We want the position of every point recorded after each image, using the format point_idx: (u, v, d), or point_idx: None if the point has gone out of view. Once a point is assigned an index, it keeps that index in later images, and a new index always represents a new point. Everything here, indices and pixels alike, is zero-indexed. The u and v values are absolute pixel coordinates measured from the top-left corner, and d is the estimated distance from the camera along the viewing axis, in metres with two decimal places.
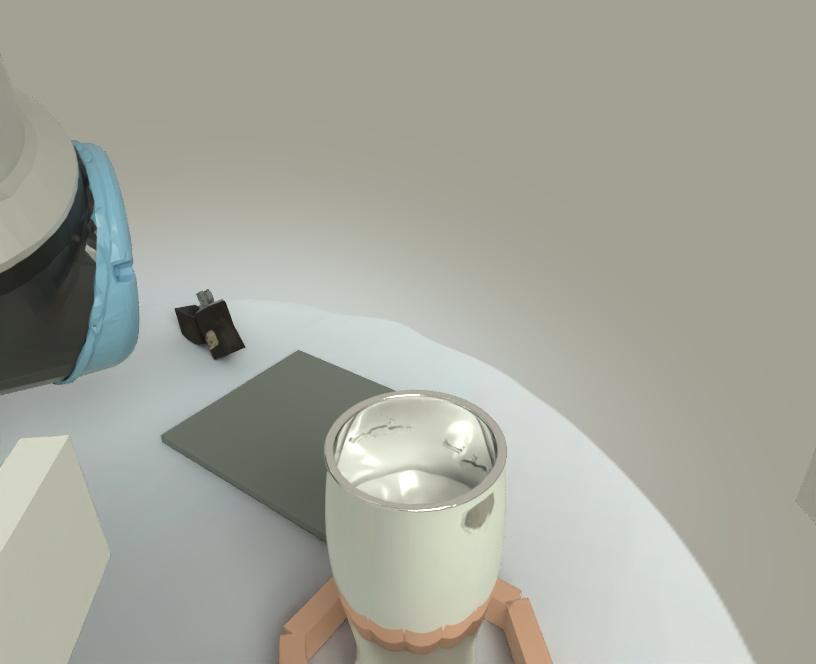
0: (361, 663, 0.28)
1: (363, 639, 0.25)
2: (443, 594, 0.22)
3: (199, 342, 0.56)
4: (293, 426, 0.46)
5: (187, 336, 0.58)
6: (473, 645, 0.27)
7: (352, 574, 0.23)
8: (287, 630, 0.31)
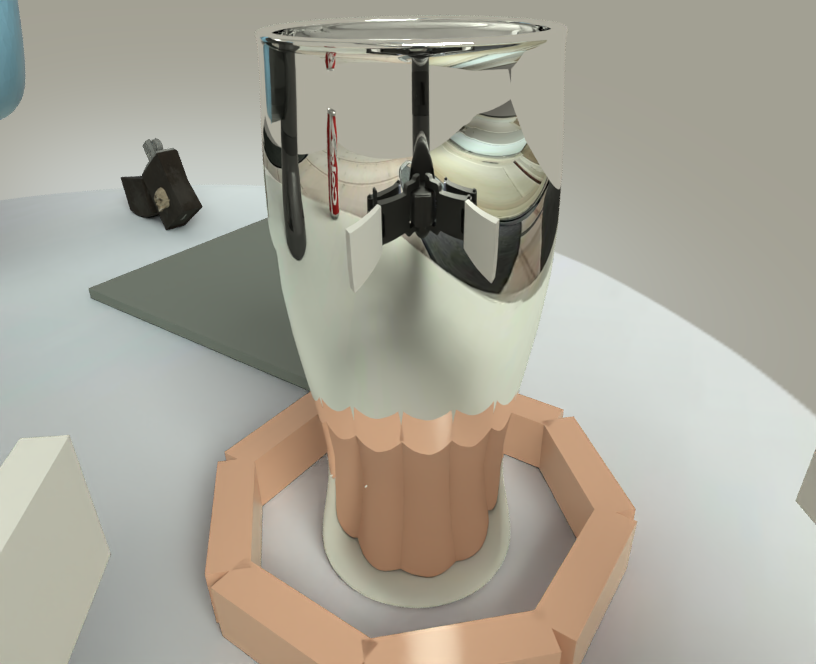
0: (334, 472, 0.18)
1: (332, 398, 0.16)
2: (465, 259, 0.13)
3: (149, 212, 0.47)
4: (257, 277, 0.37)
5: (136, 210, 0.48)
6: (505, 431, 0.17)
7: (306, 240, 0.13)
8: (230, 456, 0.21)
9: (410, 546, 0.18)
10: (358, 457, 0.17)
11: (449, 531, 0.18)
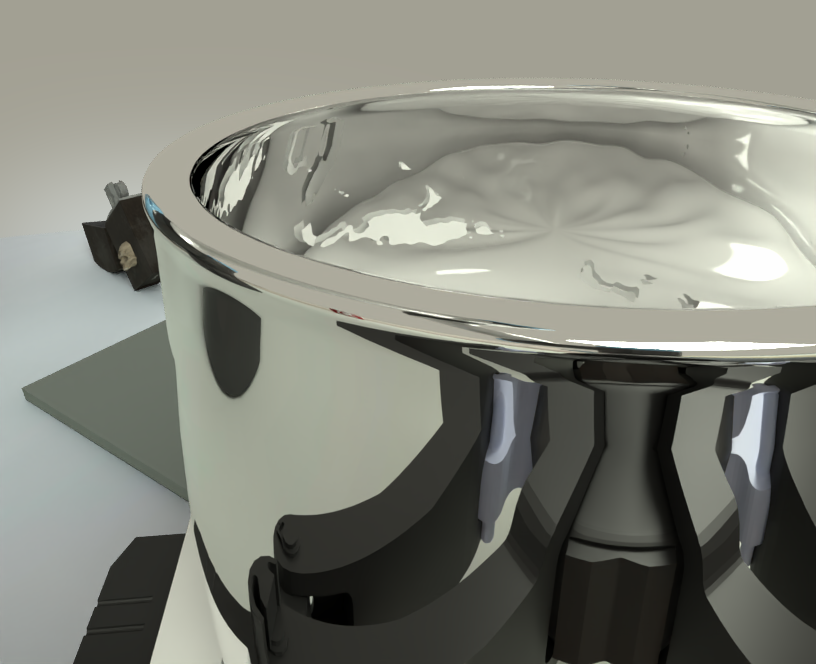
0: None
1: None
2: None
3: (114, 267, 0.38)
4: None
5: (100, 263, 0.40)
6: None
7: None
8: None
9: None
10: None
11: None
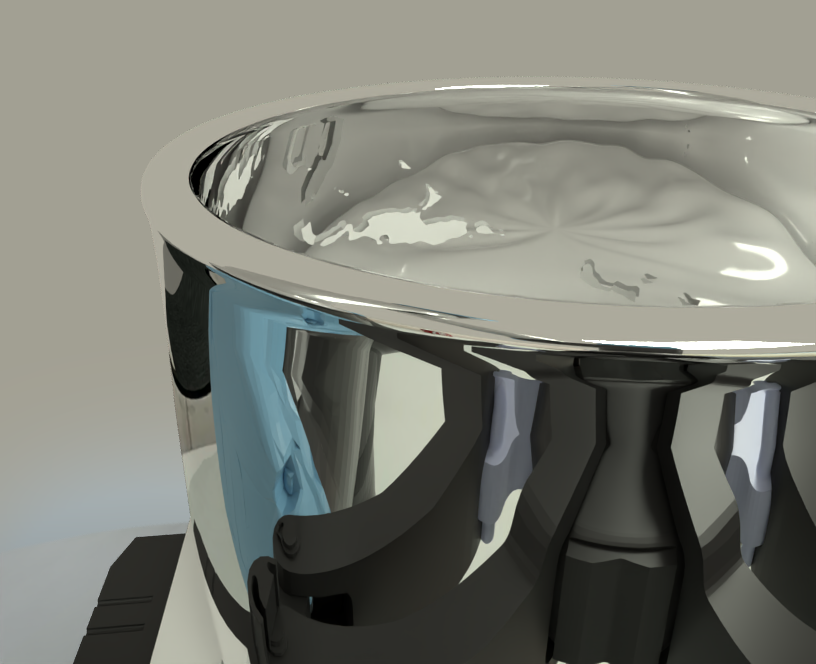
0: None
1: None
2: None
3: None
4: None
5: None
6: None
7: None
8: None
9: None
10: None
11: None
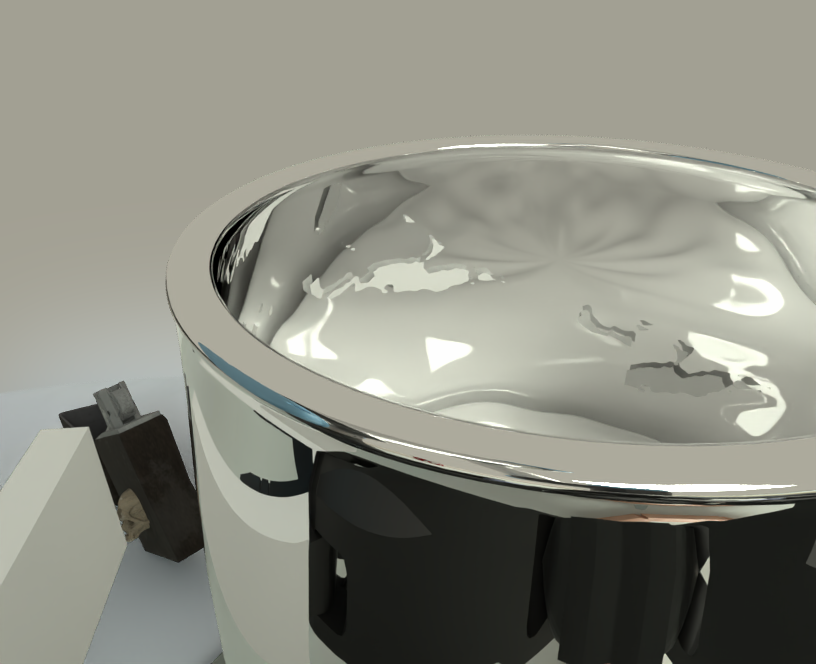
0: None
1: None
2: None
3: None
4: None
5: None
6: None
7: None
8: None
9: None
10: None
11: None
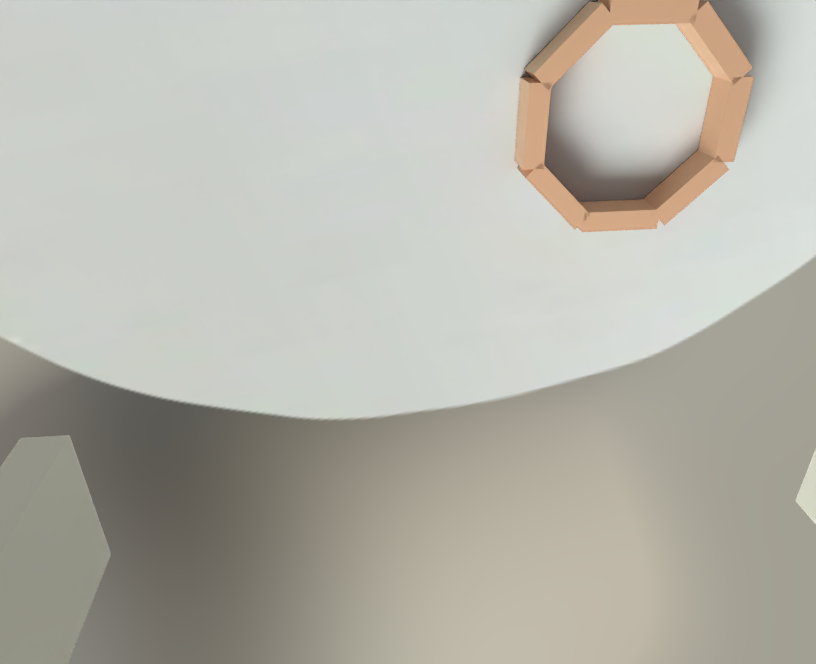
0: None
1: None
2: None
3: None
4: None
5: None
6: None
7: None
8: (610, 4, 0.32)
9: None
10: None
11: None
